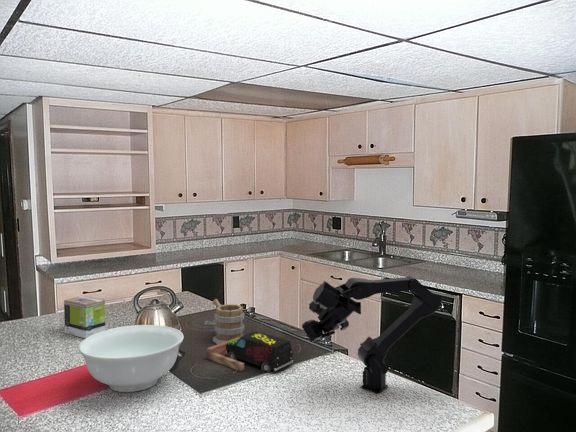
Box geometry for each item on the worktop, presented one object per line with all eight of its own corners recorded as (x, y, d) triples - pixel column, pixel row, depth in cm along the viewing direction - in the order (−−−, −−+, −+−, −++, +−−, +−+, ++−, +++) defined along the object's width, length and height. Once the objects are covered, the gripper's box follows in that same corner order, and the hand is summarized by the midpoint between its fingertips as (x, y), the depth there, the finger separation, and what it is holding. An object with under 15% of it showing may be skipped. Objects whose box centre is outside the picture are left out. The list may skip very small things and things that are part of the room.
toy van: (243, 350, 186) (243, 325, 185) (294, 366, 171) (294, 339, 170) (224, 358, 178) (224, 332, 177) (275, 375, 162) (275, 347, 162)
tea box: (106, 333, 205) (105, 299, 204) (85, 339, 196) (84, 304, 195) (84, 327, 213) (84, 294, 212) (63, 333, 204) (62, 299, 203)
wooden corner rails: (275, 356, 179) (275, 346, 179) (241, 371, 165) (241, 360, 165) (241, 345, 191) (241, 335, 190) (206, 358, 177) (206, 348, 177)
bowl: (79, 371, 165) (78, 330, 163) (174, 358, 177) (174, 319, 176) (79, 414, 135) (78, 364, 134) (193, 394, 148) (193, 348, 147)
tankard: (250, 342, 195) (250, 306, 194) (222, 348, 188) (222, 310, 187) (228, 329, 211) (228, 295, 210) (201, 334, 204) (201, 299, 203)
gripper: (341, 287, 161) (316, 314, 169) (306, 296, 147) (280, 325, 155) (361, 314, 157) (333, 340, 165) (327, 326, 143) (298, 354, 151)
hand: (311, 339), depth 159 cm, fingers closed
